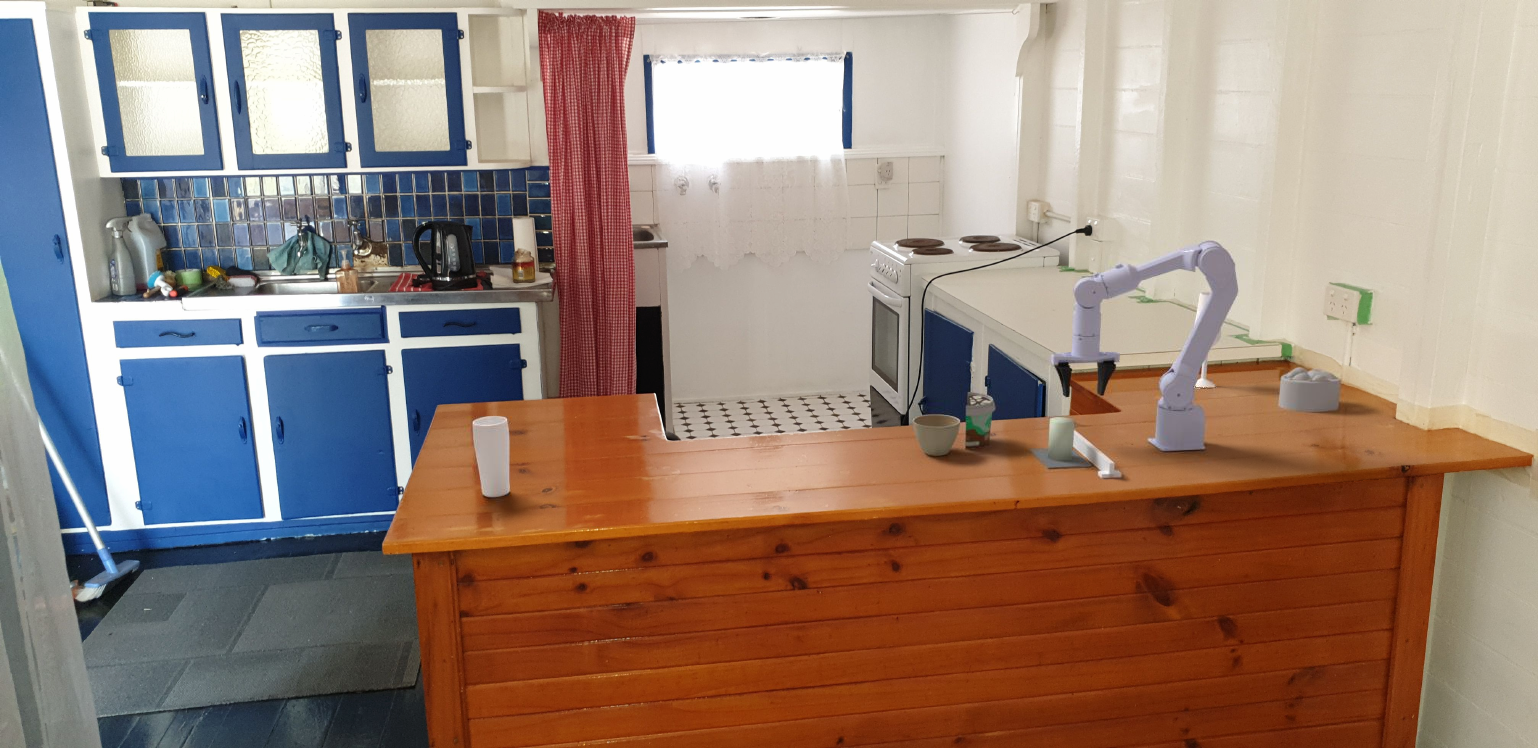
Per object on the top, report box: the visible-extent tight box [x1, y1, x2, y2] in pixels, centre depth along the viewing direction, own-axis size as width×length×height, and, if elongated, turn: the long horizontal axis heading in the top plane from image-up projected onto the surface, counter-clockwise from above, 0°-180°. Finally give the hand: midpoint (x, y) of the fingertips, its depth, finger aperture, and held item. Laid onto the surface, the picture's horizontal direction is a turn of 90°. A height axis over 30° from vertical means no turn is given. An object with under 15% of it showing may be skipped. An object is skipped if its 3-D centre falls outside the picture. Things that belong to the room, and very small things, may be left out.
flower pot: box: [912, 414, 961, 457], centre depth 239 cm, size 10×10×7 cm
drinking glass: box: [472, 415, 511, 498], centre depth 219 cm, size 7×7×15 cm
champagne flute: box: [1194, 291, 1222, 388], centre depth 285 cm, size 7×7×24 cm
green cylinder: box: [1047, 416, 1076, 461], centre depth 233 cm, size 5×5×8 cm
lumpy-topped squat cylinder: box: [1278, 366, 1342, 413], centre depth 267 cm, size 10×13×9 cm
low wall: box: [1073, 429, 1122, 479], centre depth 234 cm, size 4×26×3 cm, turn 5°
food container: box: [964, 391, 996, 450], centre depth 244 cm, size 12×6×10 cm, turn 168°
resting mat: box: [1029, 448, 1092, 470], centre depth 234 cm, size 9×12×1 cm
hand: (1083, 395), depth 243 cm, fingers open, 7 cm apart
